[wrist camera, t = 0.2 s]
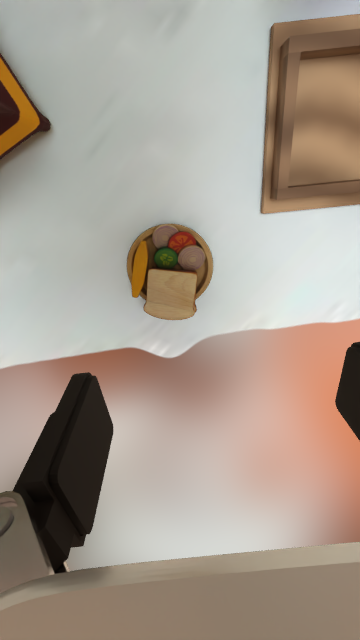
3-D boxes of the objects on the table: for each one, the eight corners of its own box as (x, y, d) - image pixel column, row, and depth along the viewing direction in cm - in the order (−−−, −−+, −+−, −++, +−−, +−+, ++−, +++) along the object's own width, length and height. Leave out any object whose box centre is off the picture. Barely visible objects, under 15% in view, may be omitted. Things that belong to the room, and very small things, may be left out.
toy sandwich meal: (222, 234, 38) (229, 241, 34) (197, 316, 44) (200, 331, 40) (135, 212, 36) (130, 217, 32) (121, 301, 43) (116, 315, 38)
